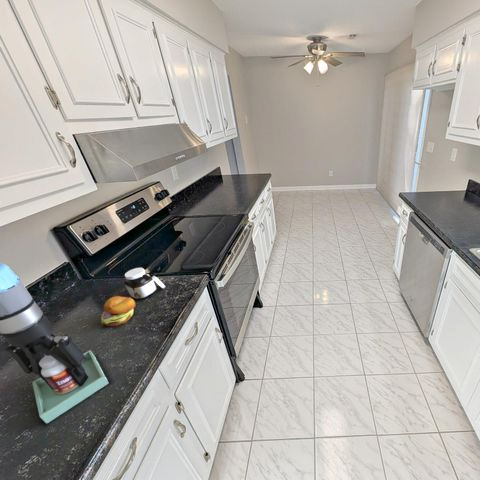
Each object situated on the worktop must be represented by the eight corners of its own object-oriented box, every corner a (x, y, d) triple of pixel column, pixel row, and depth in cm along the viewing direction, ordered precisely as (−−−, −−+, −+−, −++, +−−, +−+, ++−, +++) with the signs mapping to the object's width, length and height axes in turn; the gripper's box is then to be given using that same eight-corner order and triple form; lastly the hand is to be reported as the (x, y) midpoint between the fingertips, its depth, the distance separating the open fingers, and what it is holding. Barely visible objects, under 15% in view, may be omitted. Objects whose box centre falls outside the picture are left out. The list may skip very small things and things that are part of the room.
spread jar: (128, 298, 107) (116, 276, 102) (151, 282, 117) (141, 261, 111) (149, 302, 104) (138, 279, 98) (171, 286, 113) (162, 264, 108)
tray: (38, 388, 72) (32, 381, 71) (94, 356, 81) (90, 349, 80) (46, 423, 63) (39, 416, 62) (108, 383, 72) (104, 376, 71)
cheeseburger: (105, 315, 98) (101, 293, 95) (138, 310, 103) (136, 289, 100) (98, 332, 90) (94, 309, 87) (135, 326, 95) (132, 304, 92)
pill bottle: (65, 397, 68) (43, 371, 63) (51, 391, 70) (28, 365, 65) (90, 377, 74) (71, 350, 69) (76, 371, 75) (56, 346, 70)
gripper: (76, 307, 65) (114, 367, 76) (-4, 317, 64) (46, 376, 74) (52, 330, 59) (97, 391, 69) (-38, 340, 57) (22, 401, 68)
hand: (71, 383), depth 72 cm, fingers closed on pill bottle, 6 cm apart
